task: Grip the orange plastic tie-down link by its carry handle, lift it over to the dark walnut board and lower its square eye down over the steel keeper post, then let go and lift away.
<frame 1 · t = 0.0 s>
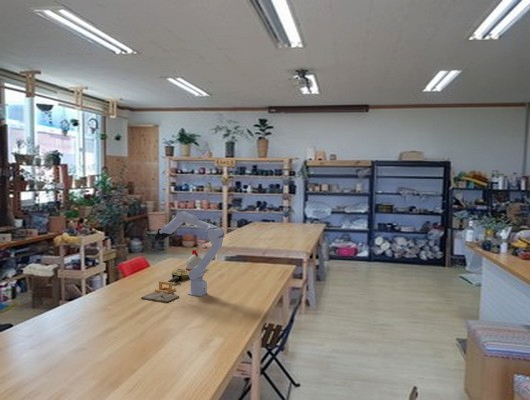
hand: (159, 238, 255), 32 cm above the table, tool tilted 50°, fingers open, 7 cm apart
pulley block: (178, 280, 281), on the table
tie-down link: (165, 291, 250), on the table
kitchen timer: (194, 269, 313), on the table
walnut board: (160, 298, 236), on the table
keeper post: (161, 298, 235), resting on walnut board
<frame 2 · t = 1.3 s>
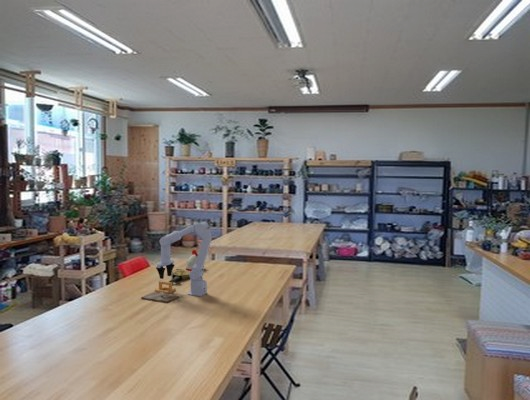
hand: (165, 277, 250), 9 cm above the table, tool pointing down, fingers open, 7 cm apart
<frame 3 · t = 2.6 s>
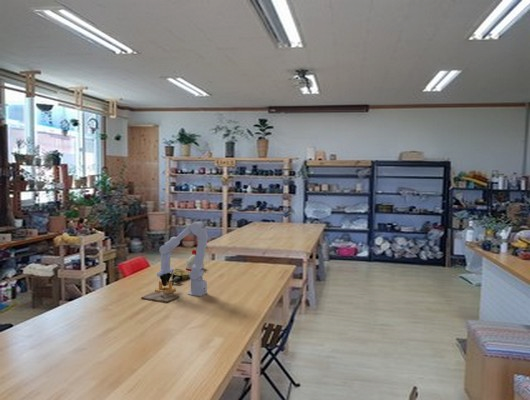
hand: (165, 285, 250), 4 cm above the table, tool pointing down, fingers closed on tie-down link
tie-down link: (165, 291, 250), on the table, touching gripper
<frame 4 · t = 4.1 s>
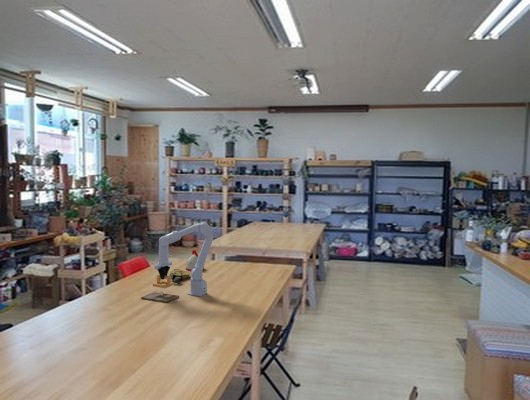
hand: (163, 279, 241), 10 cm above the table, tool pointing down, fingers closed on tie-down link
tie-down link: (163, 285, 241), point 6 cm above the table, touching gripper
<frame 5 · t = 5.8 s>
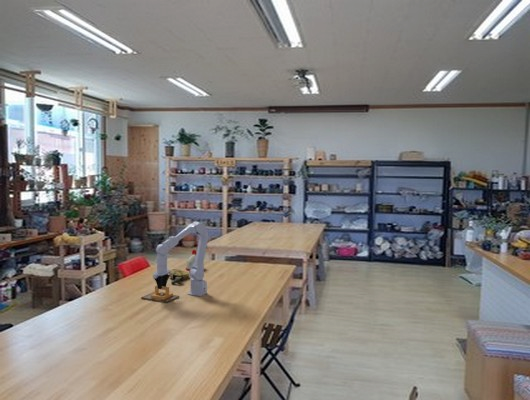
hand: (161, 288, 235), 6 cm above the table, tool pointing down, fingers open, 3 cm apart
tie-down link: (162, 296, 235), point 1 cm above the table, touching walnut board
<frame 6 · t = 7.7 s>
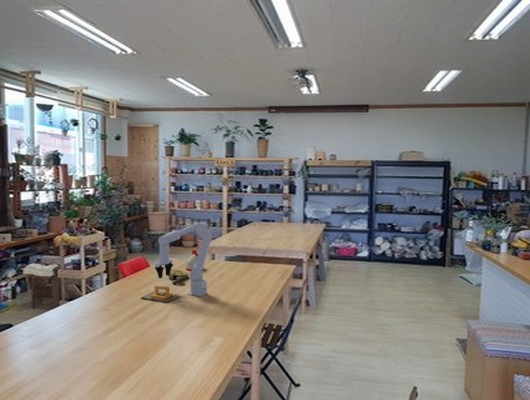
hand: (164, 276, 249), 10 cm above the table, tool pointing down, fingers open, 7 cm apart
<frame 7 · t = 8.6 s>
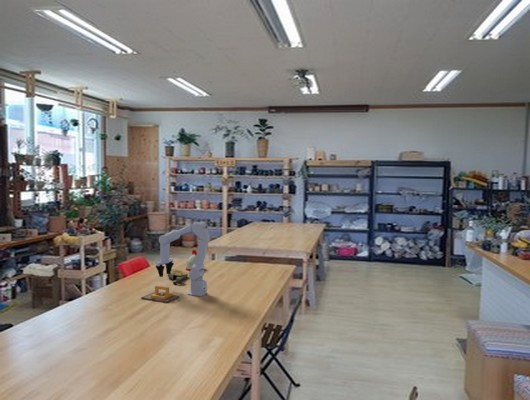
hand: (164, 275, 252), 9 cm above the table, tool pointing down, fingers open, 7 cm apart
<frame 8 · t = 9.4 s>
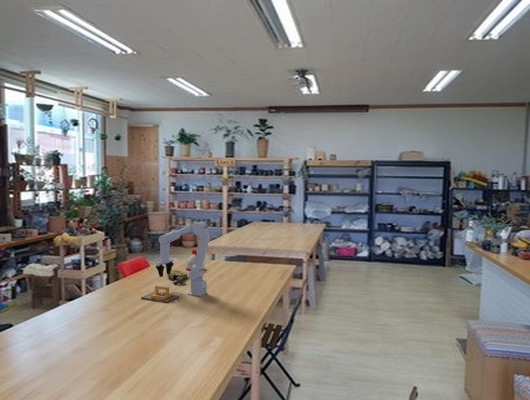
hand: (164, 275, 252), 9 cm above the table, tool pointing down, fingers open, 7 cm apart
at the end: tie-down link 0.1 cm off-centre on the keeper post, point 1.0 cm above the keeper post's base; tie-down link tilted 0°; the gripper is holding nothing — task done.
